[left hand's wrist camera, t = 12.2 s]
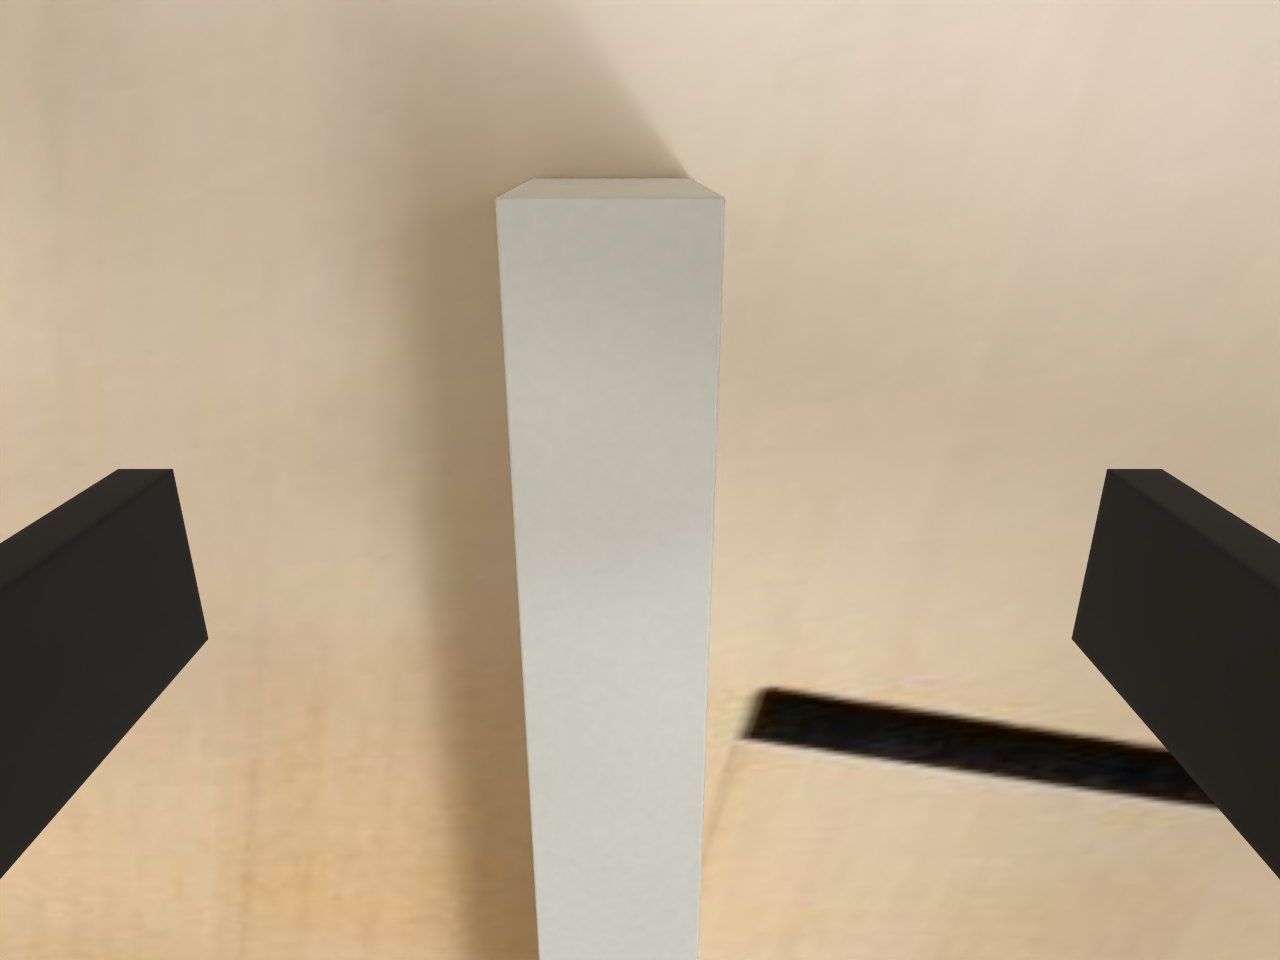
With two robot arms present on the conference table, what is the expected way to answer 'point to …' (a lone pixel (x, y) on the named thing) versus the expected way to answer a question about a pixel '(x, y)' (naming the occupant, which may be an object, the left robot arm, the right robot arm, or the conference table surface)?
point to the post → (613, 546)
